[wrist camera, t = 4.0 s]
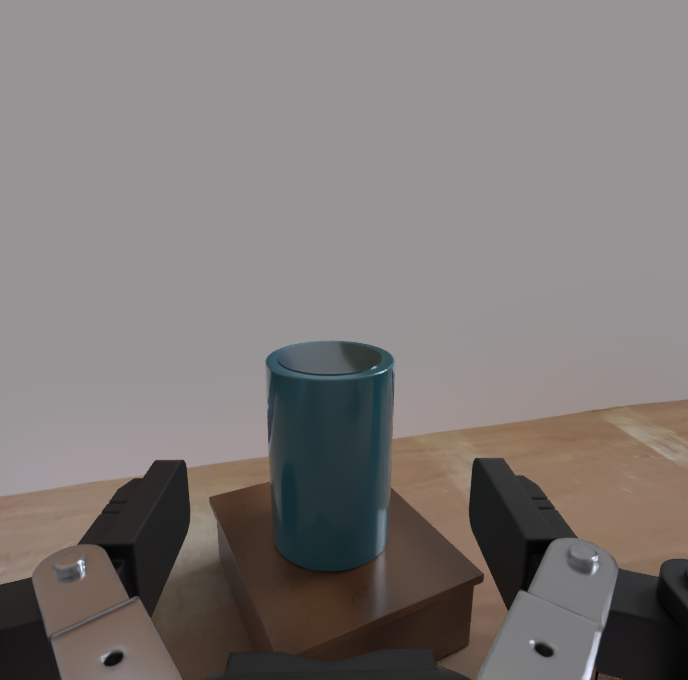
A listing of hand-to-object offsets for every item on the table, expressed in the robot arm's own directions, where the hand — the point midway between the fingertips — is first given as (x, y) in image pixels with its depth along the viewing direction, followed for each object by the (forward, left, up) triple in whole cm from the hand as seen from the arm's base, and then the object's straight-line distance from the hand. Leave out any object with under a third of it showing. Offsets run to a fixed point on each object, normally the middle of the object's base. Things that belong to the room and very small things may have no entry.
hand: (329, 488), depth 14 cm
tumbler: (-5, -10, -10) cm, 15 cm away
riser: (-5, -10, -14) cm, 18 cm away
